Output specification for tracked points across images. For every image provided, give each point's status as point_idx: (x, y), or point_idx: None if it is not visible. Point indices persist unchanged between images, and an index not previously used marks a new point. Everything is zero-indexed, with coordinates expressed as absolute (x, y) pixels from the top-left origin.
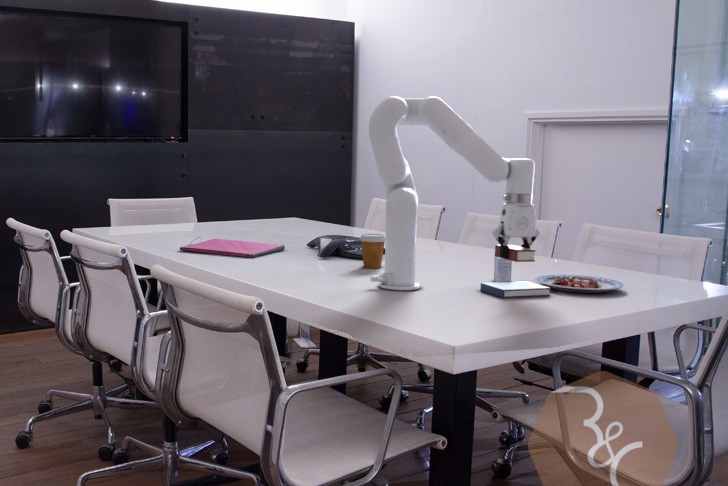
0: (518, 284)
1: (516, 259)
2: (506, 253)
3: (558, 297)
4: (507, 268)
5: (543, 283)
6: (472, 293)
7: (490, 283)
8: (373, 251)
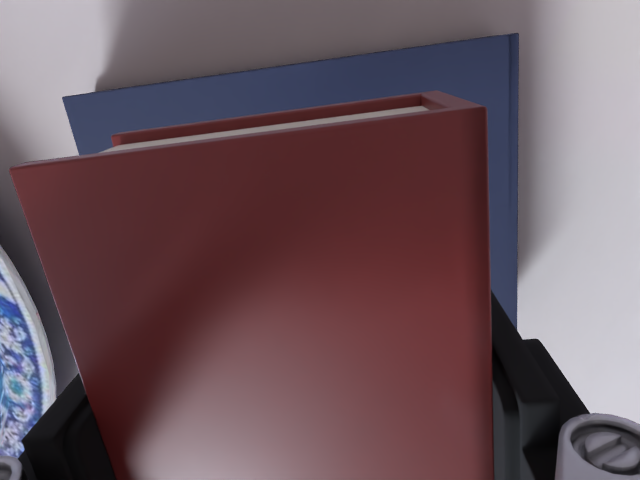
0: None
1: (440, 92)
2: (507, 321)
3: (48, 32)
4: None
5: (38, 319)
6: (605, 239)
7: None
8: None
